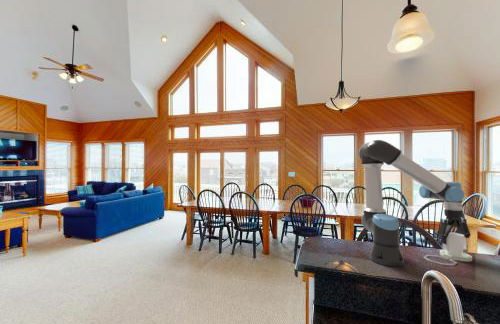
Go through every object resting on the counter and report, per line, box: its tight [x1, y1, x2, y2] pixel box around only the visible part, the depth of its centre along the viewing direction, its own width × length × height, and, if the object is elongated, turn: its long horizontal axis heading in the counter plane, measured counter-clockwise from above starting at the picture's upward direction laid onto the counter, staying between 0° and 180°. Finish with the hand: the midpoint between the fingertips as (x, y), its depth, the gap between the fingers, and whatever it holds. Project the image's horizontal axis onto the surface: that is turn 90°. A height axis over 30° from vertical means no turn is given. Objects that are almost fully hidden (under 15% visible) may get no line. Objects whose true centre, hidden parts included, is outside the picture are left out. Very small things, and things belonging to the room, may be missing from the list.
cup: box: [445, 231, 465, 257], centre depth 120 cm, size 9×9×12 cm
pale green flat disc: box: [439, 249, 473, 262], centre depth 120 cm, size 13×13×2 cm
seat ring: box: [423, 254, 458, 267], centre depth 115 cm, size 12×12×1 cm
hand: (454, 249), depth 120 cm, fingers open, 11 cm apart
